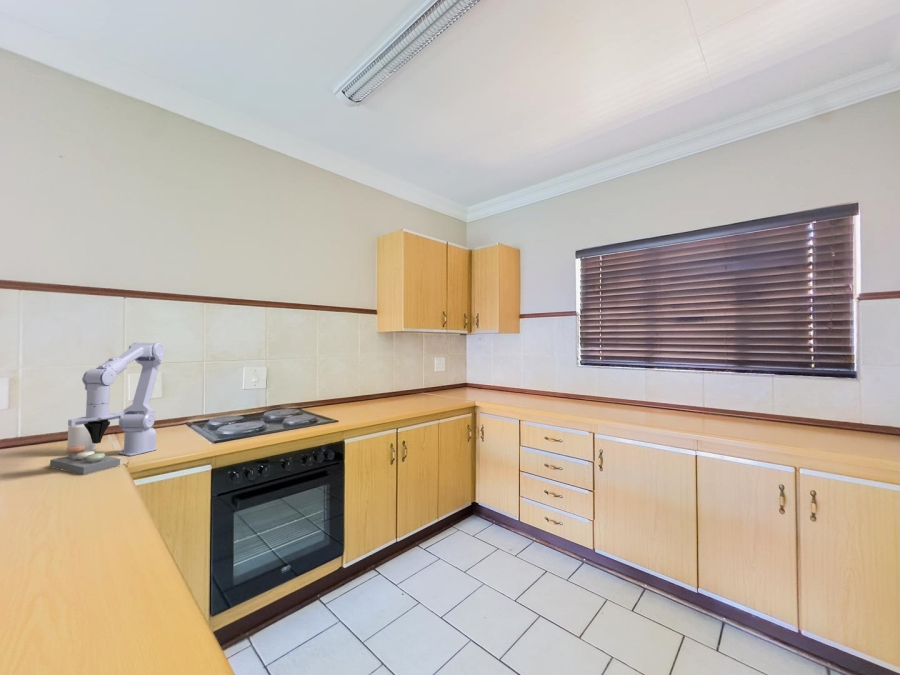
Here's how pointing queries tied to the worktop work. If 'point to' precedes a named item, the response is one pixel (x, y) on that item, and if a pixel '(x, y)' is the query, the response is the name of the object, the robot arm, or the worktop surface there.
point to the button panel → (83, 465)
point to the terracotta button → (74, 451)
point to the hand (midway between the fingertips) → (96, 442)
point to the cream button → (84, 455)
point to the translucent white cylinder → (80, 437)
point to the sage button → (95, 458)
